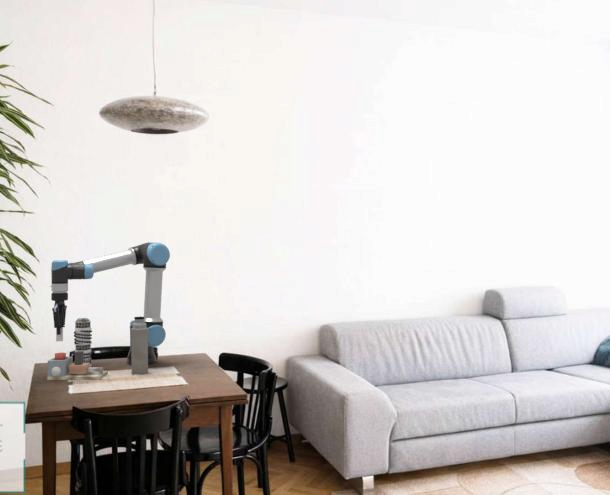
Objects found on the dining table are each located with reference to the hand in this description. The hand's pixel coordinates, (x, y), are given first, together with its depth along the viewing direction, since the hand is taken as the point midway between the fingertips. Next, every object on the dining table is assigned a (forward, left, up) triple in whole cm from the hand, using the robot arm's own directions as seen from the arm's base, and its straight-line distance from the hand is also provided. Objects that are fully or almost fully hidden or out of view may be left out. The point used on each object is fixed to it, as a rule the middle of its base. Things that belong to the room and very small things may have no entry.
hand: (59, 341), depth 313 cm
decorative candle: (-2, -27, -18) cm, 33 cm away
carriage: (-9, 0, -15) cm, 18 cm away
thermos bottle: (-36, -9, -18) cm, 41 cm away
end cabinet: (0, 0, -18) cm, 18 cm away
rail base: (-9, 0, -18) cm, 20 cm away
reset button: (0, 0, -9) cm, 9 cm away
